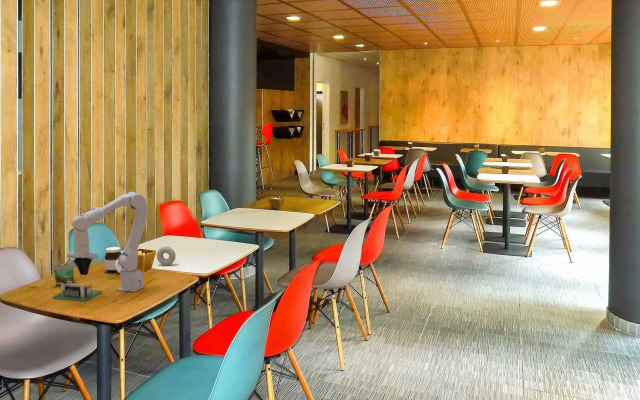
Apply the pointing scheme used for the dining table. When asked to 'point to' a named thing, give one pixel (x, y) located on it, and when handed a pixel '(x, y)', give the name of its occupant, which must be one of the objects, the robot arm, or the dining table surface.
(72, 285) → the grey and orange bar
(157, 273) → the dining table surface
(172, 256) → the donut
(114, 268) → the spread jar
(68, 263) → the food container
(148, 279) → the dining table surface
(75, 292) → the green base metal fixture
